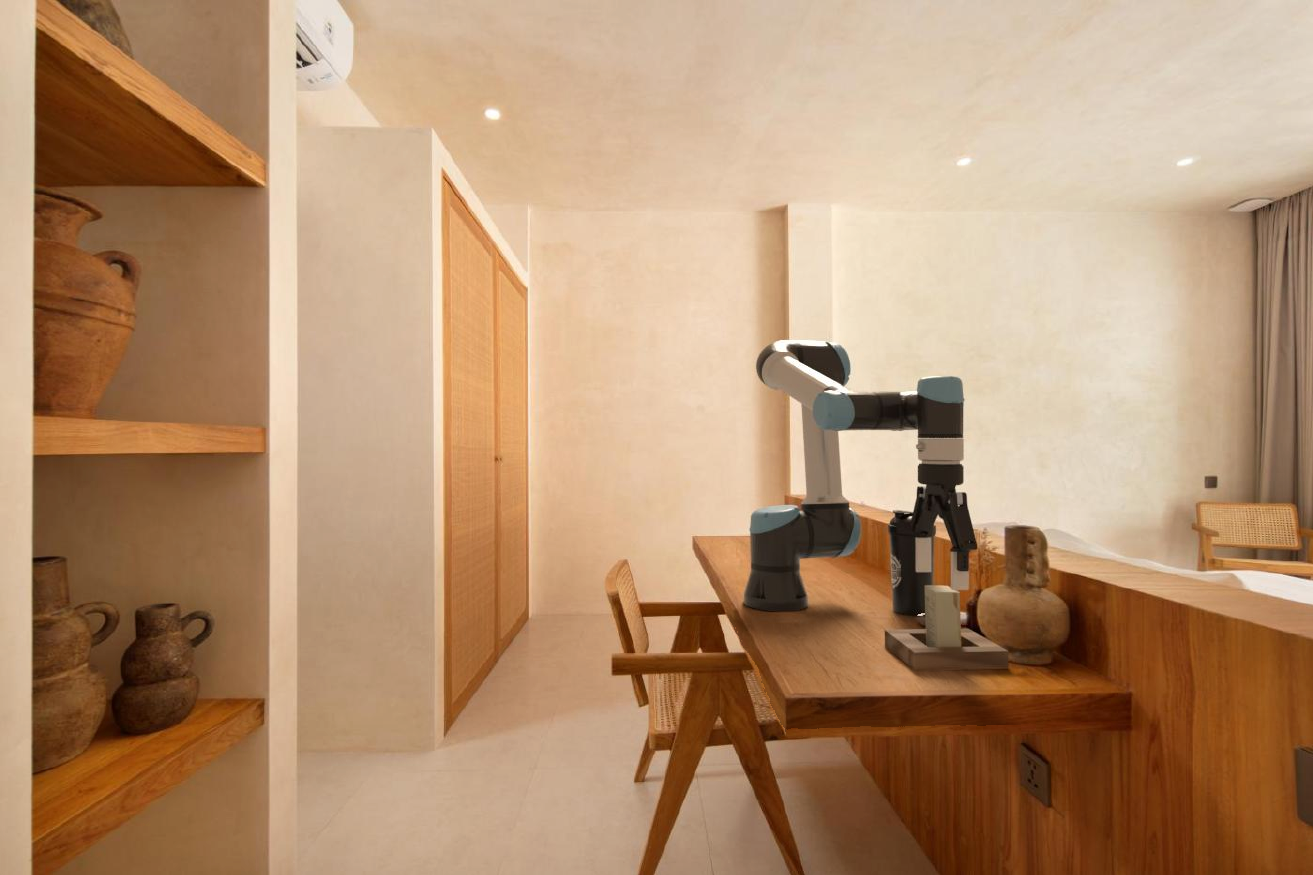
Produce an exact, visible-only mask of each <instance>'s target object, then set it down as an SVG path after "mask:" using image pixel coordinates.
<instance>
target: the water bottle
mask: <svg viewBox="0 0 1313 875" xmlns="http://www.w3.org/2000/svg"><path fill="white" fill-rule="evenodd" d="M892 513H893V514H894V517H892V518H891V519H890V521H889V523H887V533H888V534H889V550H890V552H889V555H890V575H891V576H890V577H891V578H890V579H891V592H892V594H891V595H892V610H893V612H894V613H896V614H899V615H904V616H910V617H918V616H917V615H918V614H921V613H925V585H934V582H935V580H934V572H935V569H934V568H935V562H934V561H935V536H936V534H937V525H935V524H934V525H933V527H932V529H931V531H930V532H931V534H932V537H930V538H931V572H916V537H915V536H914V532H911V531H910V524H911V519H912V515H913V511H909V510H900V509H895V510H892ZM916 525H917V524H916ZM926 538H927V537H926Z"/></svg>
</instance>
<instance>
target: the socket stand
mask: <svg viewBox="0 0 1313 875" xmlns="http://www.w3.org/2000/svg"><path fill="white" fill-rule="evenodd" d="M884 646H885V647H886V648H887V649H888V650H889V651H891V652H892V653H893V654H894V655H895V656H897V657H898V658H899V659H900V660H902V662H904V663H905V664H906V665H908V666H909V667H910V668H911V667H912V668H911V669H912V670H914V671H957V670H958V671H959V670H960V669H969V670H971V671H972V670H974V671H975V670H1009V668H1010V667H1009V664H1010V663H1009V660H1010V658H1009V650H1007V649H1006V648H1003V647H1002V646H1000V645H998V644H997V643H995V642H993V641H991V640H989V639H987V638H986V637H984V636H982V635H981V634H979V633H977V632H975V631H973V630H971V629H969V628H961V647H927V646H926V628H925V629H924V628H922V629H921V628H919V629H918V628H913V629H912V628H911V629H904V628H903V629H884Z"/></svg>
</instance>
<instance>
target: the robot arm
mask: <svg viewBox="0 0 1313 875" xmlns="http://www.w3.org/2000/svg"><path fill="white" fill-rule="evenodd" d="M849 357H850V356H849V354H848V352H847V351H846V348H844V347H843V346H842V345H841V344H839V343H837V342H834V341H833V342H831V341H826V340H819V341H818V340H789V339H784V340H777V341H774V342H772V343H771V344H769V345H767V346H765V347H764V348H763V350H762V351H761V352H760V353H759V355H758V357H757V359H756V363H755V370H756V374H757V377H758V379H759V380H760V381H761V382H762V383H763V384H764V385H765V386H767V387H768V388H770V389H771V390H774V391H782V392H783V393H785V394H786V395H788V396H789V397H791V398H793V399H794V400H796V401H797V402H799V403H800V404H801V405H800V406H801V420H802V421H801V422H802V424H801V425H802V439H803V456H804V458H803V459H804V470H805V471H804V474H805V475H804V477H805V489H806V490H805V491H806V495H805V498H804V499H803V500H802V501H801V502H800V508H799V506H798V505H795V504H781V505H779V504H778V505H772V506H771V505H770V506H769V505H768V506H765V507H761V508H758V509H756V510H754V511H753V512H752V513H751V515H750V525H749V539H750V573H749V575H748V580H747V582H746V586H745V589H744V592H743V604H745V606H747V607H748V608H752V609H756V610H759V611H760V610H761V611H767V612H768V611H769V612H792V611H793V612H794V611H795V612H796V611H799V610H803V609H805V608H807V607H808V605H809V604H808V603H809V602H808V601H809V600H808V596H809V595H808V594H807V593H808V592H807V591H806V590H807V589H806V586H805V584H804V581H803V578H802V575H801V568H800V567H801V565H800V563H801V562H800V561H801V560H802V559H805V560H806V559H820V558H821V559H823V558H832V559H833V558H834V559H835V558H839V557H846V556H849V555H851V554H853V553H854V551H856V548H857V547H858V546H859V543H860V540H861V536H862V524H861V520H860V518H859V514H858V512H856V511H855V510H854V509H853V508H851V507H850V501H849V500H848V499H847V498H846V497H845V496H844V494H843V484H842V471H841V455H840V442H839V441H840V438H839V436H840V435H839V432H842V431H892V432H893V431H894V432H897V431H899V432H902V431H915V430H916V431H917V444H916V445H915V448H916V450H917V459H918V460H919V461H921V463H918V464H917V482H918V483H919V484H921V486H919V485H918V486H916V487H917V488H916V498H915V503H914V507H913V511H912V512H913V515H912V519H911V524H910V531H911V532H914V536H915V537H916V572H931V538H930V537H932V534H931V532H930V531H931V529H932V527H933V525H935V521H936V519H938V517H939V518H940V519H941V520H943V523H944V526H945V529H946V531H947V532H946V533H947V535H948V537H949V540H950V543H951V545H952V546H951V547H950V549H949V551H950V587H951V589H952V590H956V591H969V590H970V553H971V552H972V551H977V550H978V542H977V538H976V535H975V531H974V526H973V523H972V519H971V515H970V514H971V513H970V511H969V506H968V494H967V493H966V491H964V492H963V491H962V492H961V491H960V492H958V491H956V487H957V486H961V485H963V484H964V475H965V474H964V468H965V467H964V465H963V464H962V463H961V462H962V461H964V456H965V455H964V451H965V450H964V447H965V446H964V442H965V441H964V440H965V439H964V402H965V398H964V388H963V387H964V385H963V381H962V379H961V378H960V377H958V376H953V375H950V376H949V375H940V376H939V375H938V376H925V377H921V378H920V379H919V380H918V381H917V386H916V390H911V391H910V390H909V391H873V390H872V391H871V390H869V391H868V390H867V391H866V390H865V391H864V390H861V391H860V390H852V389H850V388H848V387H846V385H847V384H848V382H849V380H850V375H851V368H852V367H851V362H850V358H849ZM922 485H924V486H922ZM916 524H917V525H916ZM926 537H927V538H926Z"/></svg>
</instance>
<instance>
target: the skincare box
mask: <svg viewBox="0 0 1313 875" xmlns="http://www.w3.org/2000/svg"><path fill="white" fill-rule="evenodd" d="M924 617H925V629H926V646H927V647H961V629H962V626H961V623H962V622H961V593H960V591H959V590H952V589H951V586H949V585H938V584H937V585H936V584H935V585H934V584H933V585H925V616H924Z"/></svg>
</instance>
